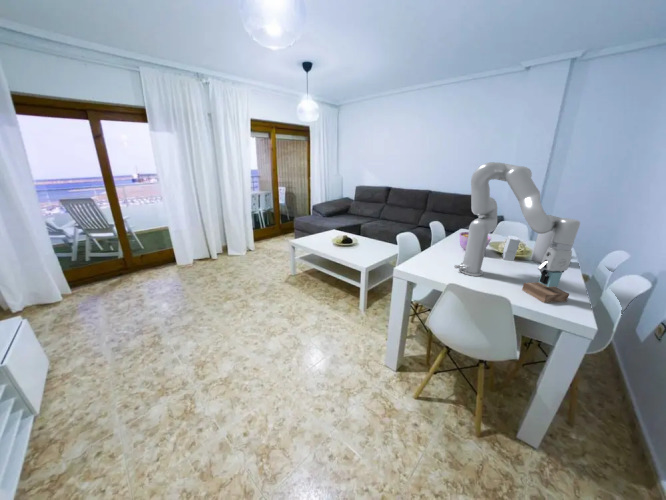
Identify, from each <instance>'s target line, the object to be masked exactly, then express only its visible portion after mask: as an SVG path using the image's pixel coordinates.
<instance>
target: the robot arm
mask: <svg viewBox="0 0 666 500" xmlns="http://www.w3.org/2000/svg"><path fill="white" fill-rule="evenodd" d="M532 175H533V173H532V170H531V169H530V168H529V167H527V166H521V165H514V164H509V163H504V162H503V163H502V162H494V161H493V162H492V161H491V162H486V163H483V164H481V165H480V166H479V167H477V168H476V169H475V170H474V172H473V173H472V176H471V180H470V187H471V188H470V189H471V193H470V194H471V195H470V196H471V197H470V199H471V202H470V204H471V206H470V207H471V212H472V213H473V215H476V216H477V217H478V218H475V219H474V220H472V221H471V222H470V223H469V227H468V232H469V235H468V241H467V246H466V251H465V252H464V256H463V260H462V261H463V262H461V263H460V264H454V269H458V271H459V272H460V273H462V274H465V275H467V276H471V277H472V276H473V277H481V276H483V274H484V271H483V270H482V266H483V261H484V258H485V254H486V250H487V247H488V246H487V239H488V236H489V233H492V232H494V231H495V230H496V228H497V226H498V204H497V201H496V199H495V198H493V197H491V196H490V195H491V193H490V192H491V188H490V183H489V182H490V181H491V180H493V181H494V180H496V181H497V180H498V181H502V182H506V183H507V184H508V185H509V188H510V189H511V191H512V193H513V194H514V195H515V196H514V197H516V200H517V201H518V203H519V207H520V209H521V213H522V215H523V217H524V219H525V221H526V222H527V224H528V225H529V227H530V229H531V230H532V231H533V232H534V233H537V234H538V233H539V234H544V233H547V232H549V231H553V232H554V233H553V236H552V239H551V242H550V245H549V248H548V249H547V251H546V253H545V255H544V258H543V260H542V263H540V265H539V267H538V268H537V270H539V272H540V276H541V278H540V277H539V279H540V282H542V283H544V284H547V281H548V278H549V276H548V275H549V274H550V272H551V271H560V272H562V274H563V273H565V272H566V271H568V270H569V267H570V263H571V260H572V255H573V253H572V252H573V250H572V249H573V246H574V243H575V240H576V237H577V234H578V231H579V229H580V226H581V221H580V220H578V219H575V218H570V217H569V218H567V217H560V216H556V215H551V214H547V213H546V212H545V211H546V210H544V208H543V205H542V204H541V193H540V190H539V189H538V187H537V186H536V184H535V182H534V181H533V179H532ZM486 246H487V247H486ZM546 270H547V273H546ZM541 274H542V275H541Z"/></svg>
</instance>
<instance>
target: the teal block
mask: <svg viewBox="0 0 666 500" xmlns="http://www.w3.org/2000/svg"><path fill="white" fill-rule="evenodd" d="M546 273H547V270H546ZM541 275H542V274H541V273H540V277H539V280H538V282H539V283H541V284H543V285H545V286H547V287H558V286H559V284H560V281H561V278H562V275H563V273H562V272H560V271H551V272H550V274H549V275H548V276H549V278H548V281H547V284H544V283H542V282H540V278H541Z"/></svg>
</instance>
